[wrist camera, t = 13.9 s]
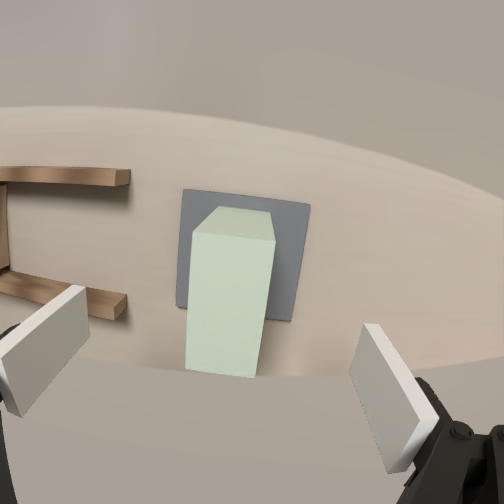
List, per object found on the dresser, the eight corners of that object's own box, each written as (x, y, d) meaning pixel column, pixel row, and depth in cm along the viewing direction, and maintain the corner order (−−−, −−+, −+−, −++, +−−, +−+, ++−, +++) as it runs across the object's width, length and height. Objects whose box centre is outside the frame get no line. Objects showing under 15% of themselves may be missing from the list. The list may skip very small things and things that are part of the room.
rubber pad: (177, 303, 28) (175, 306, 27) (184, 188, 25) (183, 189, 25) (290, 317, 28) (290, 320, 28) (309, 204, 25) (310, 204, 25)
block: (209, 300, 27) (185, 368, 18) (218, 205, 25) (192, 231, 15) (256, 306, 27) (254, 378, 18) (269, 212, 25) (275, 241, 15)
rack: (-23, 271, 28) (-79, 300, 18) (-28, 167, 25) (-92, 177, 15) (126, 306, 28) (76, 364, 19) (130, 169, 25) (65, 174, 15)
